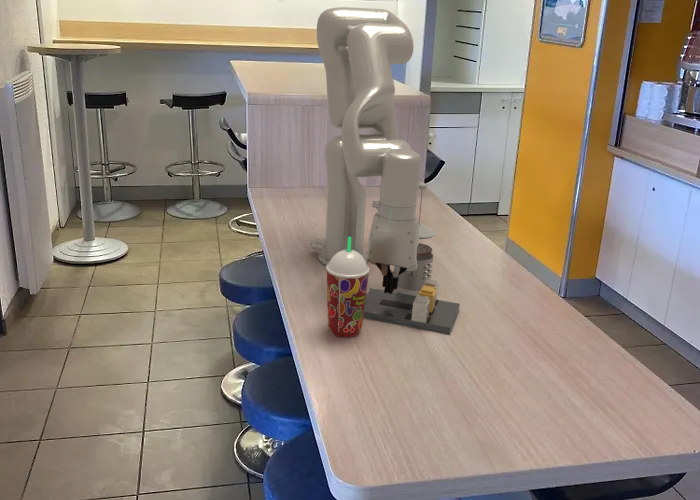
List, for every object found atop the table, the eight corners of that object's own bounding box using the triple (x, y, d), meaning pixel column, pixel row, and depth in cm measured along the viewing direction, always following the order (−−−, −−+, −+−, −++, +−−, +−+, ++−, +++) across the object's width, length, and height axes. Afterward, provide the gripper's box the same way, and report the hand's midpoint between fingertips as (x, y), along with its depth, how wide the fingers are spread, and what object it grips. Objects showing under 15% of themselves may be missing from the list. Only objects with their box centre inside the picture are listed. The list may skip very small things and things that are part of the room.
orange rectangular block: (417, 310, 142) (419, 290, 140) (420, 304, 144) (422, 284, 143) (431, 312, 141) (433, 292, 139) (434, 307, 144) (436, 287, 142)
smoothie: (361, 343, 131) (367, 247, 124) (319, 337, 132) (322, 242, 125) (368, 324, 138) (375, 232, 131) (329, 319, 140) (333, 227, 133)
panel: (354, 316, 142) (356, 289, 139) (370, 294, 152) (372, 269, 150) (449, 334, 136) (452, 307, 134) (458, 309, 147) (462, 284, 145)
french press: (438, 282, 160) (449, 180, 151) (427, 302, 150) (438, 193, 141) (398, 275, 163) (406, 174, 154) (384, 294, 153) (392, 187, 144)
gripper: (356, 210, 136) (350, 291, 143) (429, 222, 132) (419, 305, 140) (367, 199, 143) (361, 277, 150) (436, 210, 139) (427, 290, 146)
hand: (389, 290), depth 145 cm, fingers closed
